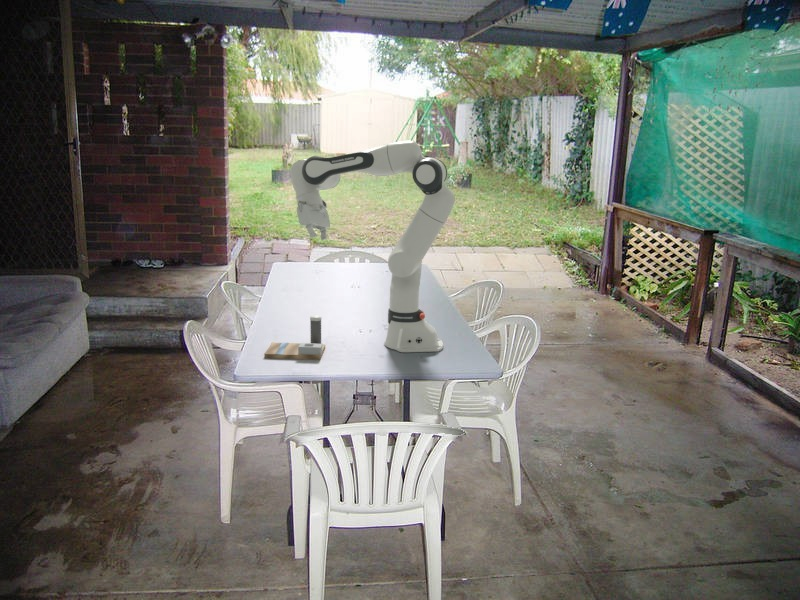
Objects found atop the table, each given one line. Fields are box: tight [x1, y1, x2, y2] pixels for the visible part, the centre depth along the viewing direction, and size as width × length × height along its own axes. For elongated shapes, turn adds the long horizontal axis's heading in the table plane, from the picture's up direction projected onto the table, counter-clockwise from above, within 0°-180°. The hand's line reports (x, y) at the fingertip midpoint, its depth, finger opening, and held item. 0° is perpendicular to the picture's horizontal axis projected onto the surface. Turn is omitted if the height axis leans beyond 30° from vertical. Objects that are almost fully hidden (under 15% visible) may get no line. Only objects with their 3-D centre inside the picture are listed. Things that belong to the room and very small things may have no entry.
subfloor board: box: [264, 342, 326, 361], centre depth 249 cm, size 20×13×2 cm, turn 89°
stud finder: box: [298, 342, 323, 355], centre depth 245 cm, size 8×4×3 cm, turn 89°
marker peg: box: [309, 314, 322, 344], centre depth 258 cm, size 4×4×11 cm
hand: (319, 238), depth 254 cm, fingers open, 8 cm apart
